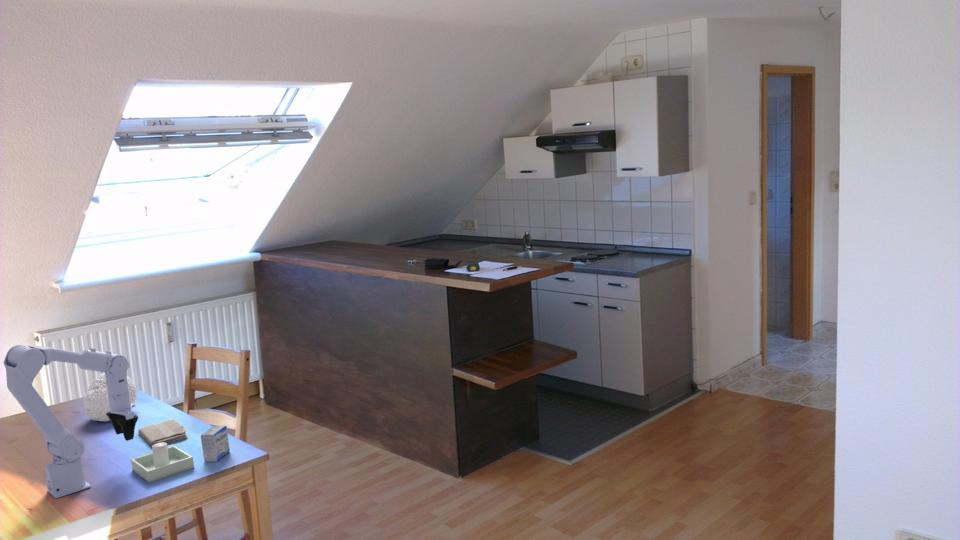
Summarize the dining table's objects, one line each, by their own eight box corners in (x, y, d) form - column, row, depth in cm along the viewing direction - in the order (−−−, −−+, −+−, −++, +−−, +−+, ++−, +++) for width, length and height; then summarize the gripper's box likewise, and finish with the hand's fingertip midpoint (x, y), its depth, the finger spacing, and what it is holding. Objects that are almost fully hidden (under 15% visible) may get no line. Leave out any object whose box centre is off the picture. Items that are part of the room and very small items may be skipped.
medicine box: (217, 462, 239) (213, 435, 237) (203, 461, 240) (200, 434, 238) (230, 451, 247) (227, 425, 245) (217, 451, 248) (213, 424, 246)
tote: (149, 483, 227) (147, 471, 226) (132, 470, 237) (130, 459, 236) (194, 467, 236) (192, 456, 235) (176, 456, 245) (174, 445, 245)
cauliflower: (94, 385, 295) (102, 356, 286) (141, 401, 299) (150, 373, 290) (70, 425, 279) (77, 396, 270) (119, 442, 283) (129, 413, 274)
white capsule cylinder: (158, 471, 233) (155, 449, 232) (152, 468, 236) (149, 445, 235) (172, 466, 236) (169, 444, 235) (166, 463, 239) (163, 441, 238)
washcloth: (153, 449, 253) (151, 440, 252) (137, 435, 267) (135, 426, 266) (190, 439, 260) (189, 430, 260) (173, 425, 274) (171, 416, 274)
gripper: (141, 394, 233) (147, 438, 236) (123, 385, 244) (129, 426, 246) (116, 401, 229) (123, 445, 231) (99, 391, 239) (106, 433, 242)
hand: (124, 436), depth 238 cm, fingers open, 7 cm apart
